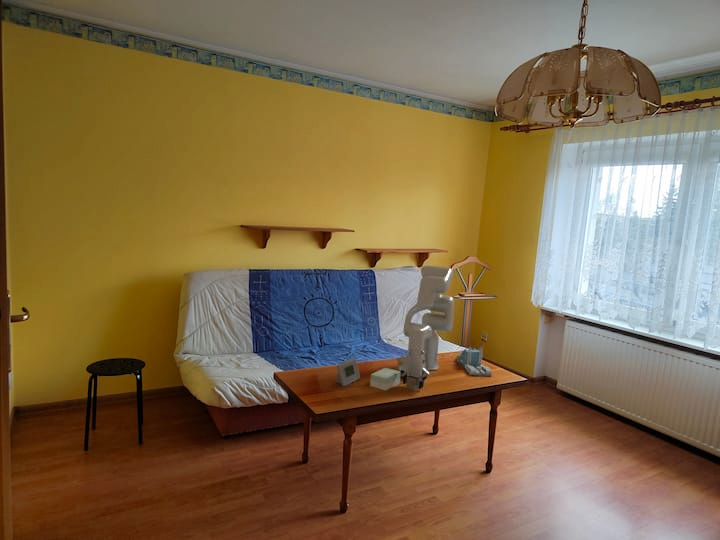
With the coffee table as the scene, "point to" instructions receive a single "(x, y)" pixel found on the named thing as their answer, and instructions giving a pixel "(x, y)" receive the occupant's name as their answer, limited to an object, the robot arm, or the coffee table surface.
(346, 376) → the digital clock
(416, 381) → the walnut brick
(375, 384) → the base brick
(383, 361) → the coffee table surface
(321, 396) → the coffee table surface
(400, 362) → the toy train
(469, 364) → the truck
